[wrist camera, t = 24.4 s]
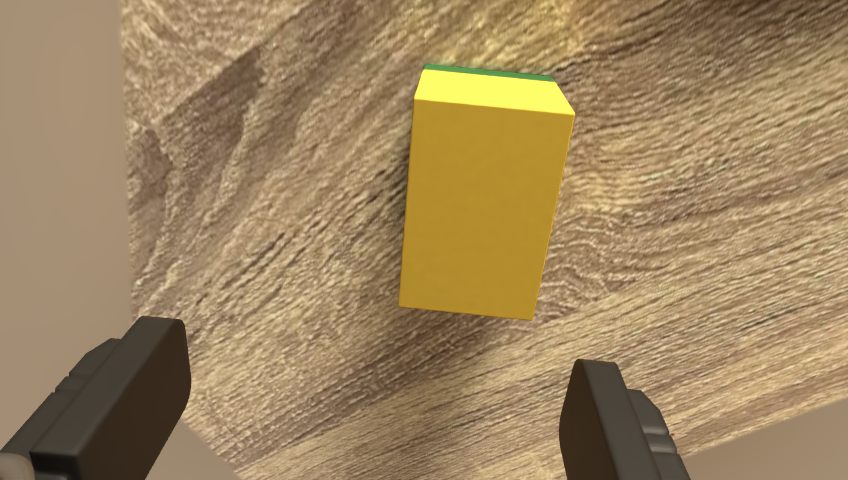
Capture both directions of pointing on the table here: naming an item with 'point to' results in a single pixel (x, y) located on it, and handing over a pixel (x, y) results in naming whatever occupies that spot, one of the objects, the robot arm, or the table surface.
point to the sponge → (481, 190)
